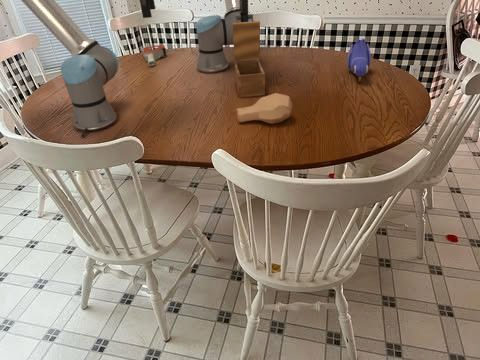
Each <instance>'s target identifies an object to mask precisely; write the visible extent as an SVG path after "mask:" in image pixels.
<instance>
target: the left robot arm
mask: <svg viewBox="0 0 480 360" xmlns="http://www.w3.org/2000/svg"><path fill="white" fill-rule="evenodd" d="M20 1H21V2H22V3H23V4H24V5H25V7H26V8H28V10H29V11H30V12H31V13H32V14H33V15H34V16H35V17H36V18H37V19H38V20H39V21H40V23H42V24H43V26H44V27H46V28H47V30H48V31H49V32H50V33H51V34H52V35H53V36H54V37H55V38H56V39H57V40H58V42H60V44H61V45H62V46H64V48H65V49H66V50H67V51H68V52H69V53H70V55H71V56H70V57H68V58H66V59H64V61H62V63H61V64H60V72H61V77H62V80H63V82H64V84H65V87H66V90H67V93H68V96H69V99H70V101H71V104H72V108H73V114H72V117H73V118H72V119H73V125H74V128H75V129H76V131H78V132H82V133H81V135H80V136H81V137H83V138H84V136H85V134H86V133H92V132H99V131H102V130H105V129H107V128H110V127H111V126H113V125H115V124H116V122H117V121H118V116H117V113H116V111H115V110H114V108H113V107H112V105H111V103H110V102H109V101H108V99H107V96H106V92H105V89H104V86H105V85H106V84H107V83H109V82H110V81H111V80H112V79H114V78H115V76H116V74H117V73H118V71H119V67H120V66H119V62H120V61H119V59H118V57H117V55H116V53H115V52H114V51H113V50H112V49H111V48H109V47H107V46H103V45H101V44H100V43H99V42H98V40H96V39H94V38H89V37H88V36H87V34H86V33H85V32H84V31H83V30H82V29H81V28H80V27H79V26H78V24H77V23H76V22H75V21H74V20H73V19H72V18H71V17H70V16H69V14H68V13H67V12H66V11H65V10H64V9H63V8H62V6H60V5H59V3H58V2H57V1H56V0H20ZM139 4H140V10H141V14H142V18H143V19H146V18H147V19H148V18H152V11H153V10H156V5H155V0H139ZM151 10H152V11H151Z"/></svg>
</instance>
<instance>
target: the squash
mask: <svg viewBox="0 0 480 360" xmlns="http://www.w3.org/2000/svg"><path fill="white" fill-rule="evenodd" d="M292 109H293V102H292V100H291V97H290V96H288V95H286V94H282V93H279V92H278V93H277V92H273V93H271V94H269V95H265V96H261V97H260V98H259V99H257V101H256V102H255V103H254V104H252V105H249V106H246V107H238V108H236V115H237V118H236V119H237V120H238V122H239V123H245V122H249V121H262V122H263V123H267V124H270V125H271V124H272V125H273V124H279V123H280V124H281V123H282V122H284V121H285V120H287V119H289V118H290V117H291V112H292Z"/></svg>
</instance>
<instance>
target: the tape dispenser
mask: <svg viewBox="0 0 480 360" xmlns="http://www.w3.org/2000/svg"><path fill="white" fill-rule="evenodd" d="M140 51H141V53H142V56H143V58H144V60H145V61H146V62H147V66H148V67H153V66H155V65H156V64H157V61H156V60H159V59H161V58H165V57H167V52H166V51H167V50H166V46H165V45H164V44H159V45H151V46H146V47H144V46H143V47H141V48H140Z"/></svg>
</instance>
